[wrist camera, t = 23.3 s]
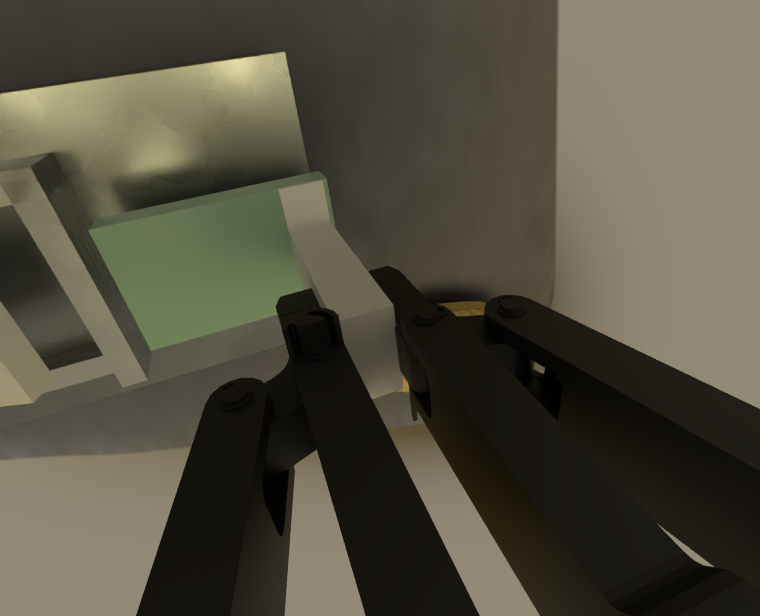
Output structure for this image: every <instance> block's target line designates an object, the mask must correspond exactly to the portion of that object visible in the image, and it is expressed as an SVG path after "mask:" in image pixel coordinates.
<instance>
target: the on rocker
mask: <svg viewBox="0 0 760 616" xmlns="http://www.w3.org/2000/svg"><path fill="white" fill-rule="evenodd" d="M326 220H329V221H330V222H331V224H332V225H333V226H334V228H335V229H336V226H335V221H334V216H333V210H332V205H331V200H330V194H329V189H328V184H327V178H326V177H325V176H324V175H323V174H322V173H321V172H320V171H316V172H311V173H307V174H302V175H297V176H293V177H288V178H283V179H279V180H274V181H269V182H265V183H260V184H255V185H251V186H246V187H241V188H237V189H232V190H227V191H223V192H218V193H213V194H209V195H204V196H199V197H195V198H190V199H185V200H181V201H176V202H171V203H167V204H162V205H157V206H153V207H148V208H143V209H139V210H134V211H129V212H125V213H120V214H115V215H111V216H106V217H101V218H97V219H95V220H94V222H93V224H92V225H91V227H90V228H89V230H88V231H89V233H90V235H91V237H92V238H93V240H94V242H95V244H96V246H97V248H98V250H99V252H100V254H101V256H102V258H103V260H104V261H105V263H106V265H107V267H108V269H109V271H110V273H111V275H112V277H113V279H114V281H115V283H116V285H117V286H118V288H119V290H120V292H121V294H122V296H123V298H124V300H125V302H126V304H127V306H128V308H129V309H130V311H131V313H132V315H133V317H134V319H135V321H136V323H137V325H138V327H139V329H140V331H141V333H142V334H143V336H144V338H145V340H146V342H147V344H148V346H149V348H150V350H151V351H152V350H156V349H159V348H163V347H166V346H170V345H173V344H177V343H180V342H184V341H187V340H191V339H194V338H198V337H201V336H205V335H208V334H212V333H215V332H219V331H222V330H226V329H229V328H233V327H236V326H240V325H243V324H247V323H250V322H254V321H257V320H261V319H264V318H268V317H271V316H275V315H278V314H277V310H276V304H277V302H278V300H279V297H281V296H284V295H288V294H291V293H295V292H299V291H302V290H303V287H302V283H301V279H300V275H299V271H298V267H297V263H296V259H295V255H294V251H293V247H292V243H291V239H290V235H289V231H288V229H292V228H297V227H301V226H305V225H309V224H313V223H317V222H321V221H326Z"/></svg>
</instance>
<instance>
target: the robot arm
mask: <svg viewBox="0 0 760 616" xmlns="http://www.w3.org/2000/svg"><path fill="white" fill-rule="evenodd" d="M288 231H289V235H290V239H291V243H292V247H293V251H294V255H295V259H296V263H297V267H298V271H299V275H300V279H301V283H302V287H303V290H302V291H299V292H295V293H291V294H288V295H284V296H281V297H279V300H278V302H277V304H276V310H277V314H278V317H279V321H280V324H281V328H282V333H283V336H284V340H285V343H286V346H287V350H288V353H289V360H288V363H287V365H286V366H285V368H284V369H283V370H282V371H281V372H280V373H279V374H278V375H277V376H275V377H274V378H272V379H271V380H269V381H267V382H265V383H263V382H262V381H261V380H258V379H255V378H240V379H236V380H233V381H230V382H228V383H226V384H224V385H222V386H220V387H219V388H218V389H217V390H216V391H214V392H213V393H212V394H211V395H210V397H209V399H208V400H207V402H206V404H205V407H204V410H203V413H202V416H201V419H200V423H199V426H198V429H197V432H196V435H195V438H194V441H193V444H192V447H191V450H190V453H189V456H188V459H187V462H186V466H185V468H184V471H183V474H182V478H181V480H180V484H179V487H178V490H177V493H176V496H175V499H174V502H173V505H172V508H171V511H170V514H169V517H168V521H167V523H166V526H165V529H164V532H163V535H162V538H161V541H160V544H159V547H158V550H157V554H156V557H155V560H154V563H153V566H152V569H151V572H150V575H149V578H148V581H147V584H146V587H145V590H144V593H143V596H142V599H141V602H140V605H139V609H138V612H137V614H136V616H284V614H285V601H286V600H285V599H286V587H287V572H288V559H289V545H290V531H291V517H292V503H293V488H294V474H295V470H294V465H295V464H296V463H298V462H299V461H300V460H302V459H304V458H305V457H306V456H308V455H309V454H311V453H312V452H314V451H315V450H316V449H317V452H318V455H319V458H320V462H321V465H322V469H323V472H324V475H325V478H326V482H327V485H328V489H329V492H330V496H331V499H332V503H333V506H334V509H335V512H336V516H337V520H338V523H339V526H340V529H341V533H342V537H343V540H344V543H345V547H346V550H347V554H348V557H349V561H350V564H351V567H352V571H353V574H354V577H355V580H356V584H357V587H358V591H359V594H360V597H361V601H362V605H363V608H364V612H365V615H366V616H479V614H478V612H477V610H476V607H475V606H474V603H473V602H472V599H471V597H470V595H469V594H468V592H467V589H466V587H465V585H464V583H463V581H462V579H461V577H460V575H459V573H458V571H457V569H456V567H455V565H454V563H453V561H452V559H451V557H450V555H449V553H448V551H447V549H446V547H445V545H444V543H443V541H442V539H441V537H440V535H439V533H438V531H437V529H436V527H435V525H434V523H433V521H432V519H431V517H430V515H429V513H428V511H427V509H426V507H425V505H424V503H423V501H422V499H421V497H420V495H419V493H418V491H417V489H416V487H415V485H414V483H413V481H412V479H411V477H410V475H409V473H408V471H407V469H406V467H405V465H404V463H403V461H402V459H401V457H400V455H399V452H398V450H397V449H396V447H395V445H394V442H393V441H392V438H391V436H390V434H389V432H388V430H387V428H386V426H385V424H384V422H383V420H382V418H381V416H380V414H379V412H378V410H377V408H376V406H375V404H374V402H373V400H372V399H374V398H377V397H380V396H383V395H386V394H389V393H392V392H394V391H397V390H400V389H403V388H404V387H403V379H402V374H403V376H404V378H405V379H406V381H407V382H408V385H409V393H410V402H411V411H412V417H413V420H414V421H416V420H417V411H418V413H419V414H420V416H421V418H422V419H423V421H424V423H425V424H426V426H427V428H428V429H429V431H430V433H431V434H432V436H433V437H434V439H435V441H436V443H437V444H438V446H439V448H440V449H441V451H442V453H443V454H444V456H445V458H446V459H447V461H448V463H449V464H450V466H451V468H452V469H453V471H454V473H455V474H456V476H457V478H458V479H459V481H460V483H461V484H462V486H463V488H464V489H465V491H466V493H467V495H468V496H469V498H470V499H471V501H472V503H473V504H474V506H475V508H476V510H477V511H478V513H479V515H480V516H481V518H482V520H483V521H484V523H485V524H486V526H487V528H488V529H489V531H490V533H491V535H492V536H493V538H494V539H495V541H496V543H497V544H498V546H499V548H500V550H501V551H502V553H503V555H504V556H505V558H506V560H507V561H508V563H509V565H510V566H511V568H512V570H513V571H514V573H515V574H516V576H517V578H518V580H519V581H520V583H521V585H522V586H523V588H524V590H525V591H526V593H527V595H528V596H529V598H530V600H531V601H532V603H533V605H534V606H535V608H536V610H537V611H538V613H539V615H540V616H760V409H758V408H756V407H754V406H752V405H750V404H748V403H746V402H744V401H742V400H740V399H738V398H736V397H733V396H731V395H729V394H727V393H725V392H723V391H721V390H719V389H717V388H715V387H713V386H711V385H708V384H706V383H704V382H702V381H700V380H698V379H696V378H694V377H692V376H690V375H688V374H685V373H683V372H681V371H679V370H677V369H675V368H673V367H671V366H669V365H667V364H665V363H662V362H660V361H658V360H656V359H654V358H652V357H650V356H648V355H646V354H644V353H642V352H639V351H637V350H635V349H633V348H631V347H629V346H627V345H625V344H623V343H621V342H618V341H616V340H614V339H612V338H610V337H608V336H606V335H604V334H602V333H600V332H597V331H596V330H593V329H591V328H589V327H587V326H585V325H583V324H581V323H578V322H577V321H575V320H572V319H570V318H568V317H566V316H564V315H562V314H560V313H558V312H556V311H554V310H552V309H550V308H548V307H545V306H543V305H541V304H539V303H537V302H535V301H533V300H531V299H528V298H525V297H522V296H516V295H503V296H498V297H495V298H492V299H491V300H490V301H488V302H487V303H486V305H485V308H484V314H483V315H473V316H456V315H455V314H454V313H453V312H452V311H451V310H450V309H448V308H447V307H445V306H442V305H439V304H431V303H429V302H428V301H427V300H426V299H425V298H424V297H423V296H422V294H421V293H420V292H419V291H418V290H417V289H416V288H415V287H414V286H412V283H411V282H410V281H409V280H407V278H406V277H405V276H404V275H403V274H402V273H401V271H399V270H397V269H394V268H392V267H390V266H385V267H382V268H378V269H374V270H371V271H367V270H366V268H365V267H364V266H363V264H362V263H361V262H360V260H359V259H358V258H357V257H356V255H355V254H354V253H353V251H352V250H351V249H350V247H349V246H348V245H347V243H346V242H345V241H344V240H343V238H342V237H341V236H340V234H339V233H338V232H337V230H336V229H335V228H334V226H333V225H332V224H331V222H330V221H329V220H326V221H321V222H317V223H313V224H309V225H305V226H301V227H297V228H292V229H288ZM535 362H536V363H538V364H540V365H541V366H543V367H545V372H544V374H542V373H540V372H538V371H536V370H534V363H535ZM658 524H659V525H660V526H661V527H663V528H664V529H665V530H666V531H668V532H669V533H671V534H672V535H673V536H674V537H676V538H677V539H678V540H680V541H681V542H682V543H684V544H685V545H686V546H688V547H689V548H690V549H692V550H693V551H694V552H696V553H697V554H698V555H699V556H701V557H702V558H703V559H705V560H706V561H707V562H709V563H710V564H712V565H713V566H714V567H710V566H703V565H702V564H699V563H698V562H696V561H694V560H693V559H692V558H690V557H689V556H688V555H687V554H686V553H685V552H684V551H683V550H682V549H681V548H680V547H679V546H678V545H677V544H676V543H675V542H674V541H673V540H672V539H671V538H670V537H669V536H668V535H667V534H666V533H665V532H664V531H663V530H662V529H661V528H660V527H659V525H658Z"/></svg>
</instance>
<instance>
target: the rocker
mask: <svg viewBox="0 0 760 616" xmlns="http://www.w3.org/2000/svg"><path fill="white" fill-rule="evenodd" d="M54 379H55V378H54V376H53V375H52V373H51V372H50V371H49V369H48V368H47V366H46V365H45V364H44V362H43V361H42V359H41V358H40V356H39V355H38V354H37V352H36V351H35V349H34V348H33V347H32V345H31V344H30V342H29V341H28V340H27V338H26V337H25V335H24V334H23V332H22V331H21V330H20V328H19V327H18V325H17V324H16V323H15V321H14V320H13V318H12V317H11V315H10V314H9V313H8V311H7V310H6V308H5V307H4V306H3V304H2V303H1V301H0V407H3V406H12V405H21V404H29V403H34V402H35V401H36V400H37V398H38V397H39V396H40V395H41V394H42V393H43V392H44V391H45V389H46V388H47V387H48V386H49V385H50V384H51V383H52V382H53V380H54Z"/></svg>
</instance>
